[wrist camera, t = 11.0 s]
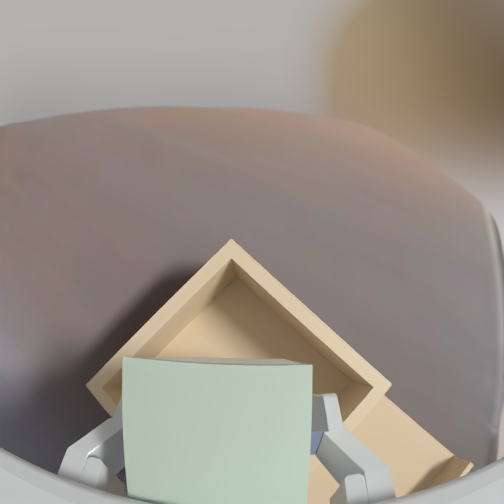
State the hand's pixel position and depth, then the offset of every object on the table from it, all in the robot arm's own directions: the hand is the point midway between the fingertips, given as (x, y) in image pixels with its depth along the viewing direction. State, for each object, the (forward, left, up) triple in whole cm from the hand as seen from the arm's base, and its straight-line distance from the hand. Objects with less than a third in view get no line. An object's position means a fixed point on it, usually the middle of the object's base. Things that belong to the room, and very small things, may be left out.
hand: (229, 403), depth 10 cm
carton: (+1, 0, -5) cm, 5 cm away
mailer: (+6, -1, -10) cm, 12 cm away
